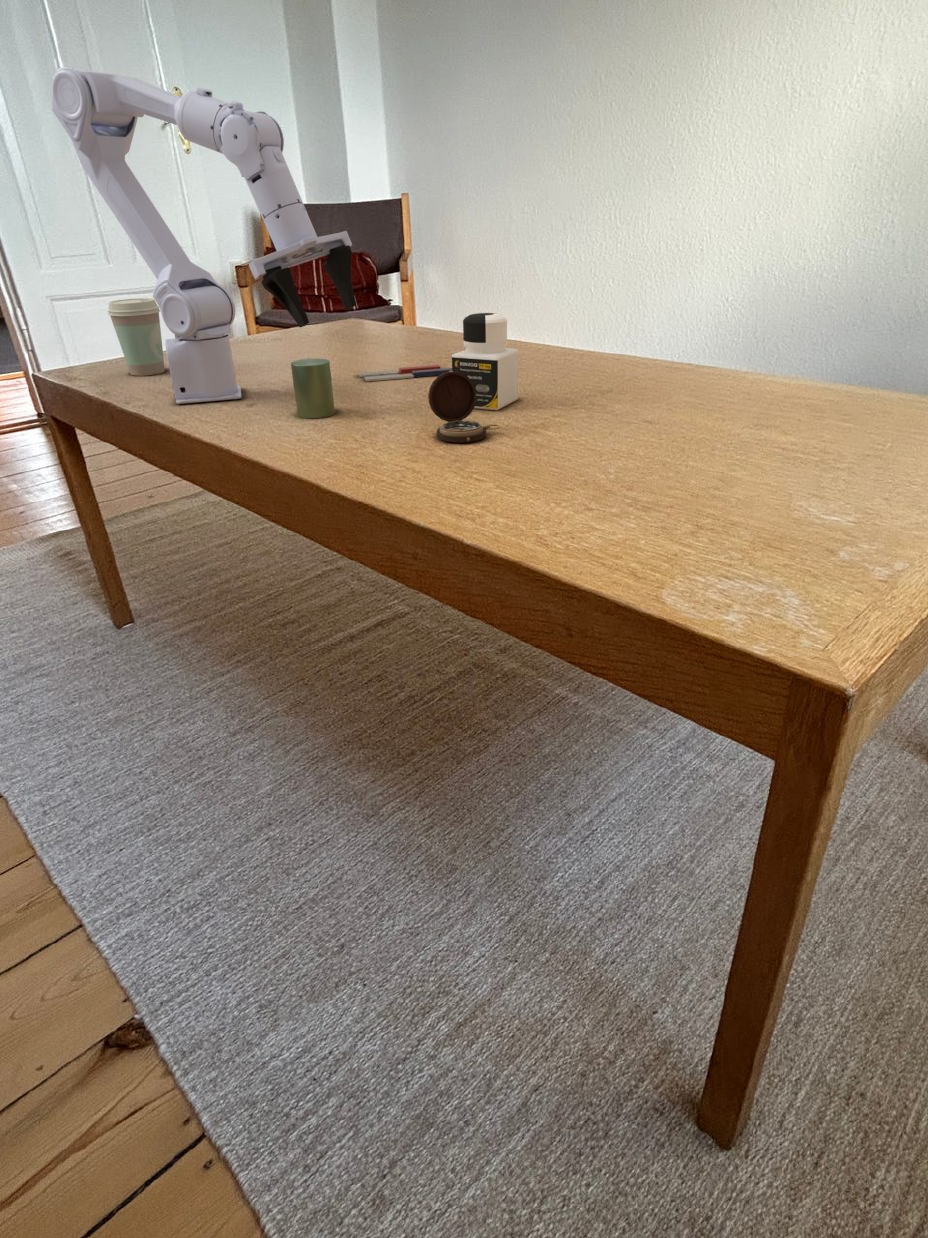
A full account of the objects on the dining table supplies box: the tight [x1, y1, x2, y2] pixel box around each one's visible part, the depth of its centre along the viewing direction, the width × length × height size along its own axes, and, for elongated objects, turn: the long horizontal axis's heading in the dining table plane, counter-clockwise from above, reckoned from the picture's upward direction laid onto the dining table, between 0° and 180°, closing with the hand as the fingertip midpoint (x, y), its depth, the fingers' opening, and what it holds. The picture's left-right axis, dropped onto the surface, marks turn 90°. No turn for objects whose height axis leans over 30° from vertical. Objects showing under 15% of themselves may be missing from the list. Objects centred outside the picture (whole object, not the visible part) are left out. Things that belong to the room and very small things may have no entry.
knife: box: [364, 367, 452, 383], centre depth 125 cm, size 15×2×1 cm, turn 105°
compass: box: [427, 370, 501, 444], centre depth 92 cm, size 8×8×7 cm
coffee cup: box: [107, 297, 166, 377], centre depth 132 cm, size 8×8×12 cm
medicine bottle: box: [451, 312, 519, 411], centre depth 105 cm, size 7×7×12 cm
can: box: [290, 358, 336, 419], centre depth 104 cm, size 5×5×7 cm
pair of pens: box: [357, 364, 441, 379], centre depth 128 cm, size 14×2×1 cm, turn 105°
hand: (328, 316), depth 103 cm, fingers open, 7 cm apart
